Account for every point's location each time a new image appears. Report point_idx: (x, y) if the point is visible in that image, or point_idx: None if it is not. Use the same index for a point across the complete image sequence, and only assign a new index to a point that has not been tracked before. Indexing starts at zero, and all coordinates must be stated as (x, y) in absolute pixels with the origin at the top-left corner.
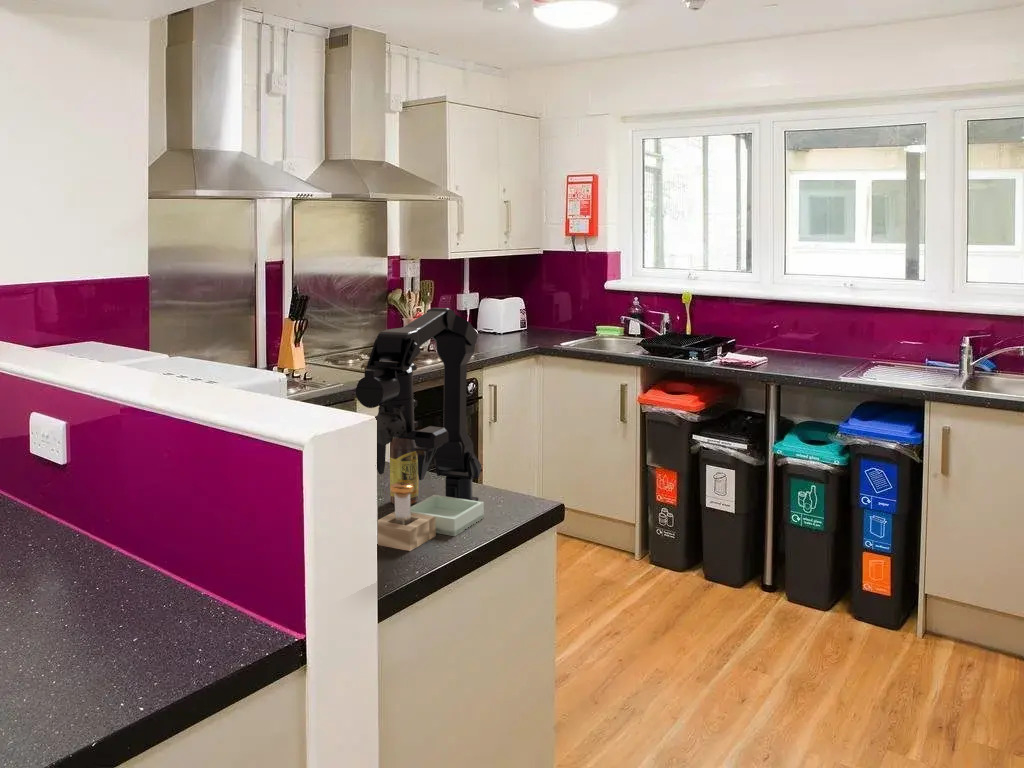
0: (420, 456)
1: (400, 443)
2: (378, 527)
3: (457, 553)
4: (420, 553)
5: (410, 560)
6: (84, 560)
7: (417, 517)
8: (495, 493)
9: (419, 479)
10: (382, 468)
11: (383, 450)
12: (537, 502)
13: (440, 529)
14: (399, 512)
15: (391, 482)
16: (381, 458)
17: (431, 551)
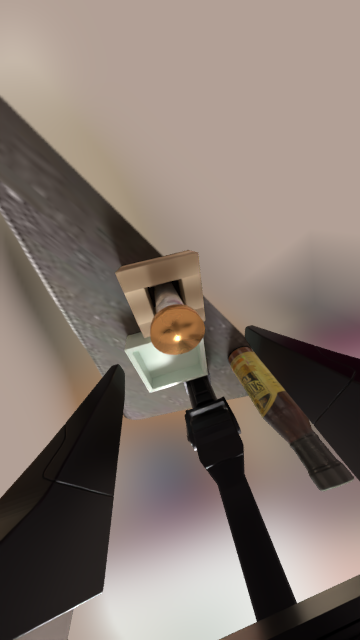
0: (31, 489)
1: (291, 419)
2: (180, 256)
3: (67, 303)
4: (103, 269)
5: (83, 235)
6: None
7: None
8: (187, 404)
9: (115, 365)
10: (254, 343)
11: (304, 401)
12: (146, 414)
13: None
14: (164, 296)
15: (261, 363)
16: (283, 367)
17: (99, 285)
